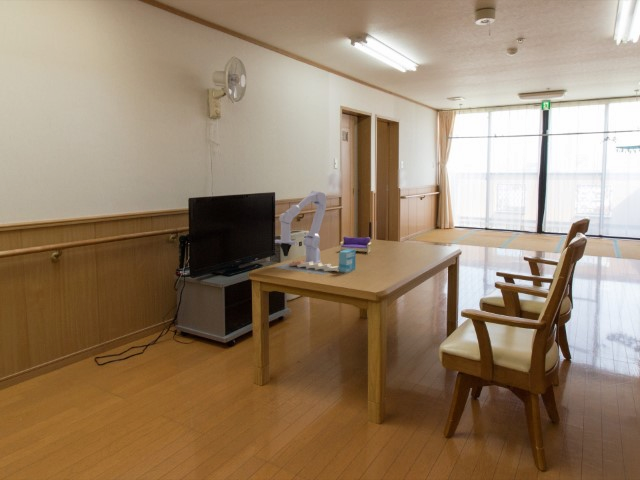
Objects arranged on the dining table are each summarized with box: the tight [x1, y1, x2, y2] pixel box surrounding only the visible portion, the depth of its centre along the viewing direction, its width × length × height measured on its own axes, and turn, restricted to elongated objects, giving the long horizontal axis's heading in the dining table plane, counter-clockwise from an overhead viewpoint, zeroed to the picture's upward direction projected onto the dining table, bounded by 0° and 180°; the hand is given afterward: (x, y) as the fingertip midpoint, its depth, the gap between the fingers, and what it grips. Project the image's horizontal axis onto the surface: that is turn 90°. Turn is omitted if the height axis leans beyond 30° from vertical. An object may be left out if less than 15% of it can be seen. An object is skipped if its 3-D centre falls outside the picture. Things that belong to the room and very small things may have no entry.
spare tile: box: [289, 260, 306, 266], centre depth 269 cm, size 4×2×8 cm
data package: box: [338, 249, 357, 274], centre depth 258 cm, size 12×4×12 cm, turn 149°
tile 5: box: [324, 265, 339, 272], centre depth 257 cm, size 4×2×8 cm
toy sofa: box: [339, 236, 372, 254], centre depth 320 cm, size 21×9×10 cm, turn 72°
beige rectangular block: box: [297, 261, 313, 267], centre depth 266 cm, size 4×2×8 cm
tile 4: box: [315, 263, 332, 270], centre depth 260 cm, size 4×2×8 cm
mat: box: [272, 262, 336, 276], centre depth 265 cm, size 17×34×1 cm, turn 59°
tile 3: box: [306, 261, 323, 269], centre depth 263 cm, size 4×2×8 cm
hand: (285, 256), depth 273 cm, fingers closed
